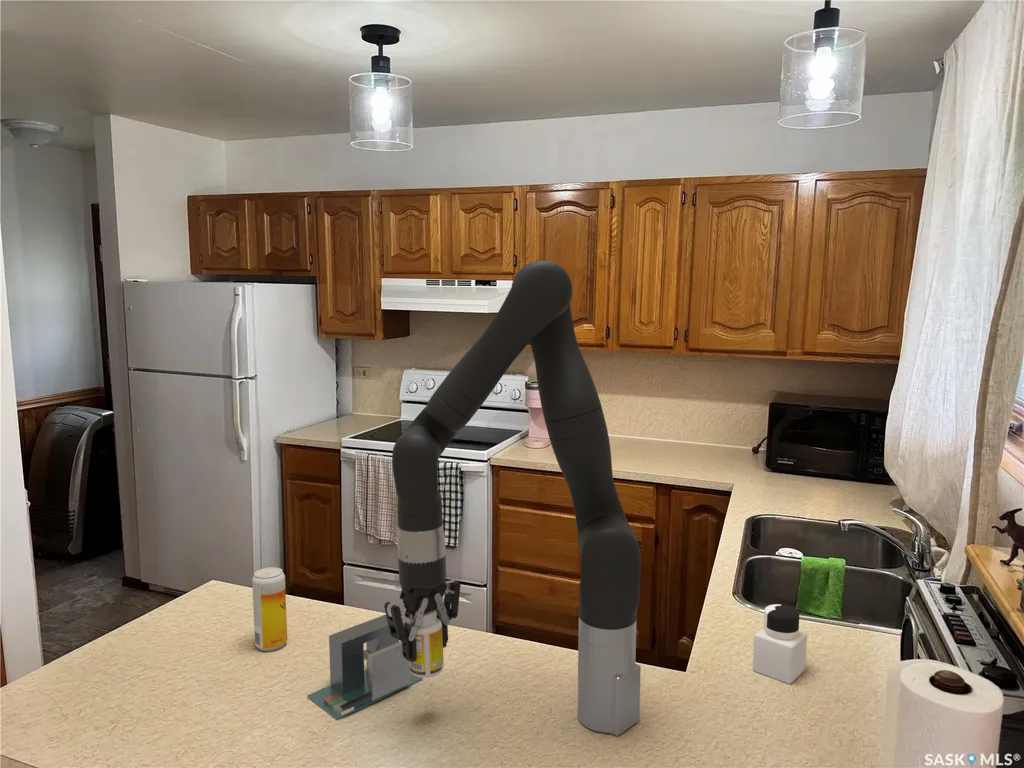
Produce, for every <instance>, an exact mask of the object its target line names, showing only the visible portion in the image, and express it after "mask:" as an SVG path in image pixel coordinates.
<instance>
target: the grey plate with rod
mask: <svg viewBox="0 0 1024 768" xmlns="http://www.w3.org/2000/svg"><path fill="white" fill-rule="evenodd" d="M364 661H366V662H367V661H368V672H369V693H367V694H365V695H363V696H360V697H358V698H356V699H354V700H352V701H349V702H347V703H345V704H343V705H341V706H340V707H341V709H342V710H345V709H347V708H350V707H352V706H354V705H356V704H358V703H360V702H362V701H365V700H367V699H370V700H372V701H373V700H376V699H378V698H380V697H382V696H384V695H386V694H388V693H390V692H393V691H395V690H397V689H399V688H401V687H403V686H405V685H408V684H410V683H411V672H410V667H409V661H408V660H406V658H404V657H403V655H402V641H399V642H398V643H396V644H393V645H391V646H389V647H386V648H384V649H381V650H379V651H377V652H374V653H372V652H370V651H368V650H367V649H365V650H364Z"/></svg>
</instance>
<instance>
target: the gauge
mask: <svg viewBox="0 0 1024 768" xmlns="http://www.w3.org/2000/svg"><path fill="white" fill-rule="evenodd" d="M328 641H329V642H328V646H329V647H328V649H329V676H330V677H329V679H330V683H329V684H330V685H328V686H325V687H323V688H321V689H318V690H316V691H313V692H312V693H310V694H307V696H306V697H307V698H308V699H309V700H310V701H311V702H313V703H314V704H315V705H317V706H318V707H320V708H321V709H322V710H323V711H324V712H326V713H327V714H329V715H330V716H331V717H333V718H334V719H335V720H336V721H338V720H341V719H342V718H343V719H344V718H345V717H346V716H347V717H348V716H349V715H351V714H353V713H355V712H357V711H359V710H361V709H364V708H366V707H367V706H370V705H373V704H374V703H377V702H378V701H381V700H383V699H385V698H387V697H389V696H391V695H393V694H396V693H398V692H400V691H402V690H403V689H406V688H408V687H410V686H413V685H415V684H417V683H419V682H421V681H423V678H420V677H416V676H414V675H413V674H412V673H411V683H410V684H408V685H405V686H403V687H401V688H399V689H397V690H395V691H393V692H390V693H388V694H386V695H384V696H382V697H380V698H378V699H376V700H373V701H372V700H370V699H367V700H365V701H362V702H360V703H358V704H356V705H354V706H352V707H350V708H347V709H345V710H342V709H341V707H340V706H341V705H343V704H345V703H347V702H349V701H352V700H354V699H356V698H358V697H360V696H363V695H365V694H367V693H369V672H368V661H366V669H365V659H364V648H365V647H364V645H365V644H366V645H365V646H366V650H368V651H370V652H372V653H374V652H377V651H379V650H381V649H384V648H386V647H389V646H391V645H393V644H396V643H398V642H400V640H398V639H396V638H394V637H392V636H391V635H390V631H389V627H388V622H387V618H386V614H383V615H379V616H378V617H375V618H373V619H370V620H367V621H364V622H362V623H359V624H356V625H354V626H351V627H349V628H346V629H343V630H340V631H337V632H335V633H332V634H330V635H328Z"/></svg>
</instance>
